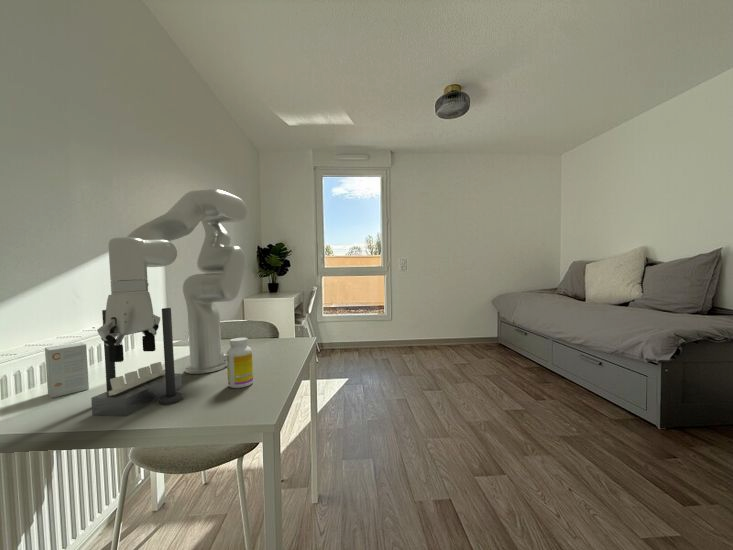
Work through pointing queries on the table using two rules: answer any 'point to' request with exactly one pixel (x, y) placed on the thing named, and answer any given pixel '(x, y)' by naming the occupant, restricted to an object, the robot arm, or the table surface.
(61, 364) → the small box
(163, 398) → the cable upright
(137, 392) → the breaker panel
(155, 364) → the breaker paddles
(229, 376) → the supplement bottle
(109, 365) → the cable upright
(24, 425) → the table surface
